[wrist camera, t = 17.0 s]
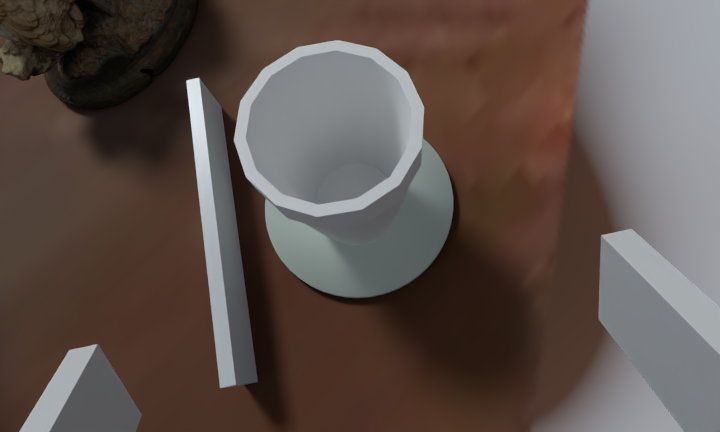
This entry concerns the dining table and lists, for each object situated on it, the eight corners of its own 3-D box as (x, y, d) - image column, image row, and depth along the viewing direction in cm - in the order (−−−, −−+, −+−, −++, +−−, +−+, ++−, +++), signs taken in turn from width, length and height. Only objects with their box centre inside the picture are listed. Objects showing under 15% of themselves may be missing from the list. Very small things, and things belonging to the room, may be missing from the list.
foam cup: (447, 200, 36) (465, 116, 24) (359, 293, 35) (330, 256, 23) (353, 122, 39) (325, 9, 26) (268, 207, 37) (197, 131, 25)
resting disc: (233, 194, 39) (229, 190, 38) (373, 88, 40) (372, 83, 40) (341, 339, 35) (339, 338, 34) (492, 216, 36) (494, 213, 36)
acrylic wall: (209, 109, 41) (186, 80, 37) (221, 107, 41) (199, 77, 37) (243, 384, 35) (220, 388, 31) (257, 381, 35) (235, 384, 30)
